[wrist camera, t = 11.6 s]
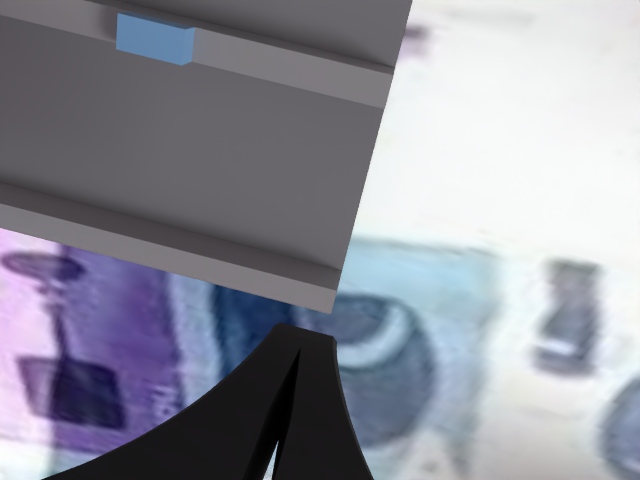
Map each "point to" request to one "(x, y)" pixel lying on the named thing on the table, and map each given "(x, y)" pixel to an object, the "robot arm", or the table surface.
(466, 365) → the table surface
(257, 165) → the board
